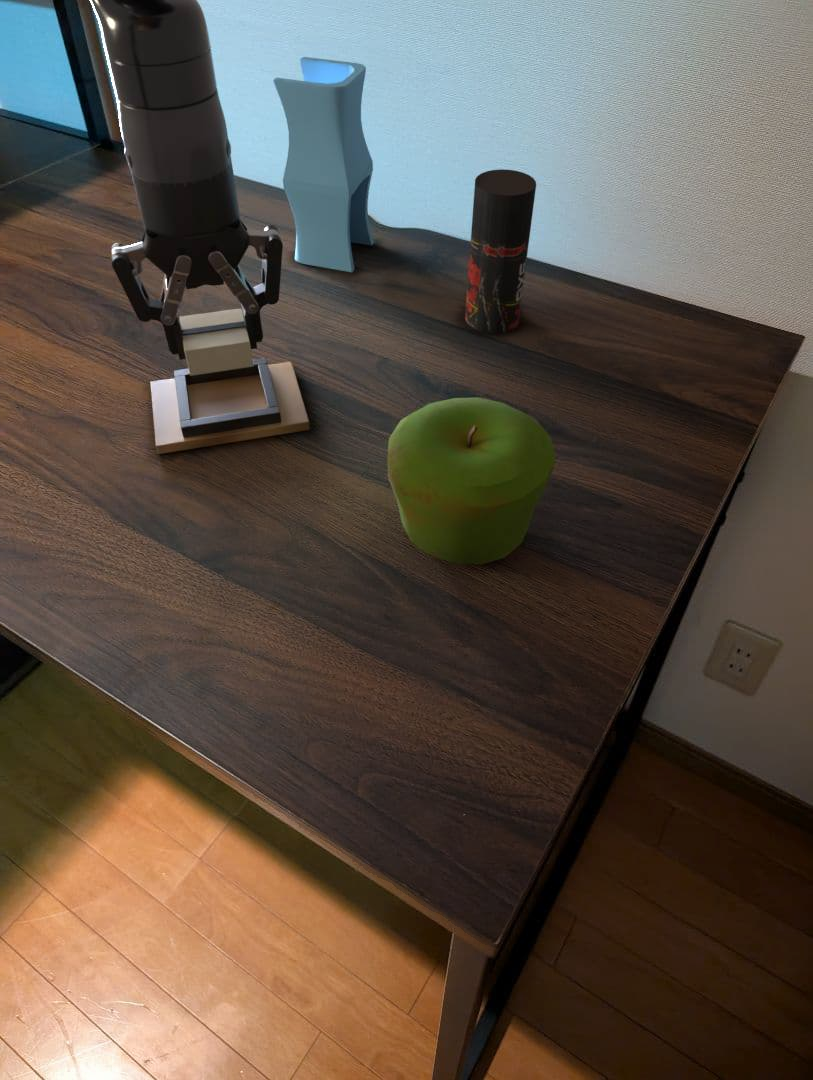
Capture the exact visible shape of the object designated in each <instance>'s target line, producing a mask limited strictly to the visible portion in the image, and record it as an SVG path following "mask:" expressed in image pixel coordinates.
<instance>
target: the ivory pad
mask: <svg viewBox="0 0 813 1080" xmlns="http://www.w3.org/2000/svg"><path fill="white" fill-rule="evenodd" d="M179 319H180V323H181V328H182V335H183V345H184V352H185V356H186V359H185V360H186V364H187V369H189V373H190V376H193V375H199V374H206V373H213V372H219V371H226V370H233V369H239V368H246V367H253V366H254V365H253V353H252V349H251V346H250V341H249V337H248V333H247V330H246V326H245V322H244V318H243V312H242V307H241V308H234V309H225V310H218V311H211V312H205V313H196V314H189V315H182V316H179Z"/></svg>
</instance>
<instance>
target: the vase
mask: <svg viewBox="0 0 813 1080" xmlns="http://www.w3.org/2000/svg"><path fill="white" fill-rule="evenodd" d="M299 61H300V67H301V73H302V77H303V80H299V79H292V78H291V79H290V78H282V77H275V78H274V79H273V84H274V87H275V89H276V92H277V95H278V97H279V100H280V102H281V105H282V109H283V112H284V115H285V119H286V125H287V130H288V147H287V157H286V164H285V168H284V171H283V177H282V185H283V191H284V193H285V195H286V198H287V201H288V203H289V206H290V209H291V212H292V217H293V220H294V225H295V252H294V260H295V262H297V263H299V264H303V265H308V266H314V267H317V268H325V269H330V270H336V271H341V272H348V273H353V272H354V271H355V263H354V259H353V252H352V245H351V243H354V244H360V245H365V246H374V244H375V240H374V236H373V233H372V229H371V224H370V220H369V209H368V207H369V195H370V194H369V193H370V186H371V181H372V177H373V176H372V175H373V171H374V161H373V159H372V156H371V153H370V151H369V148H368V145H367V144H368V143H367V142H366V138H365V134H364V130H363V124H362V123H363V122H362V101H363V91H364V84H365V78H366V72H367V67H366V66H365V65H364V64H362V63H357V62H351V61H343V60H334V59H326V58H317V57H309V56H302V57H301V58H300V59H299Z"/></svg>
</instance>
